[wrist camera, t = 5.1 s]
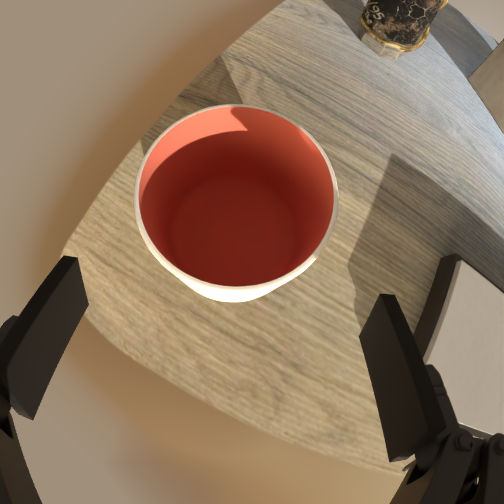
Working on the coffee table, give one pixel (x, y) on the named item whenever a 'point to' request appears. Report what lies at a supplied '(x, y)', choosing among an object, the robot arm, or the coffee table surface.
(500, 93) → the planter
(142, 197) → the cup
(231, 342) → the coffee table surface
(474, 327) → the scale
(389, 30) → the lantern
